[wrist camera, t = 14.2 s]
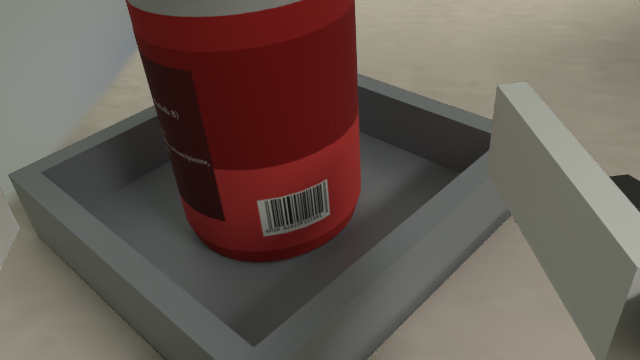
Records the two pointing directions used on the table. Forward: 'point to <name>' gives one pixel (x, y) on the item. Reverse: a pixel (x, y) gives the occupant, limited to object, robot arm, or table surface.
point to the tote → (283, 275)
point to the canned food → (257, 118)
